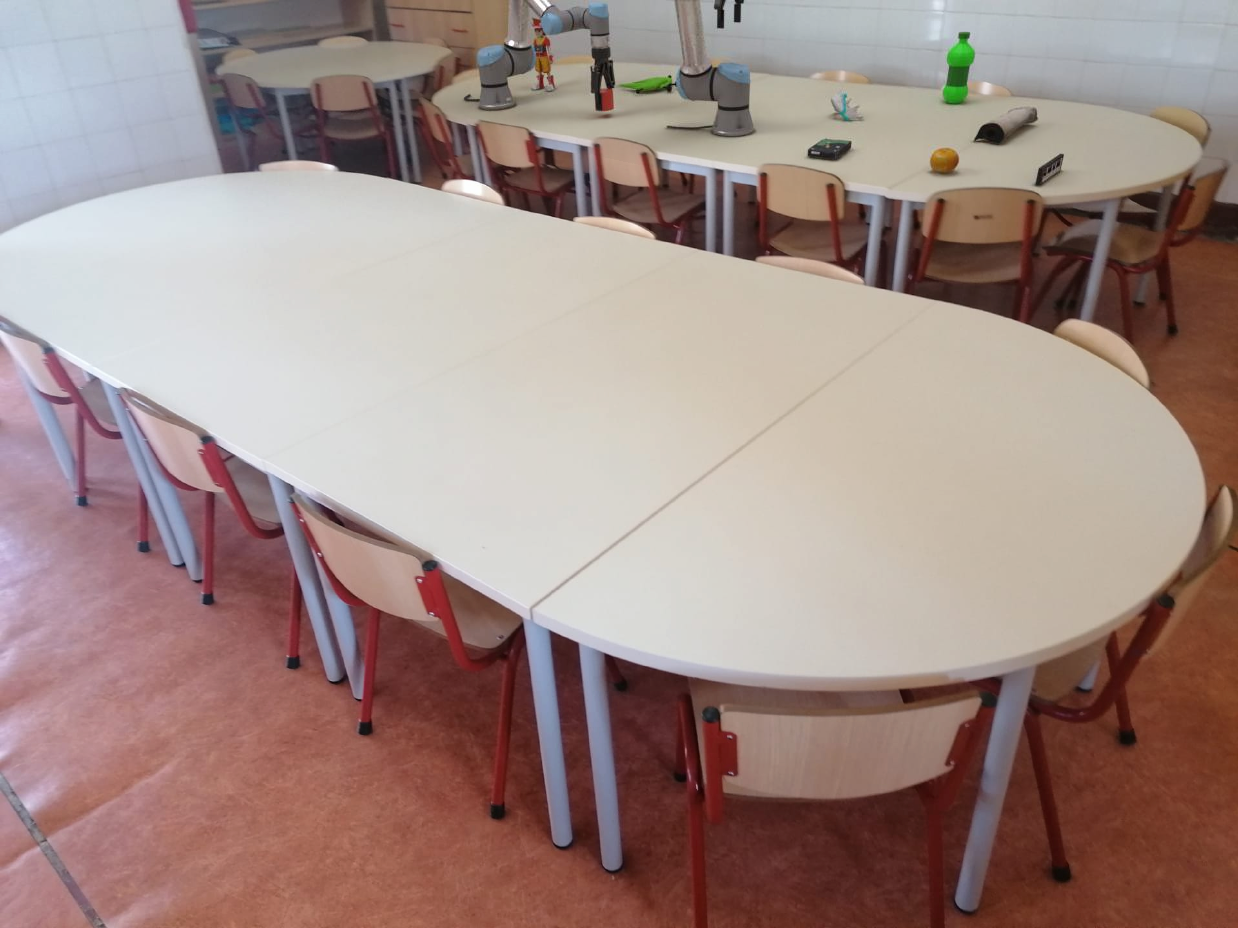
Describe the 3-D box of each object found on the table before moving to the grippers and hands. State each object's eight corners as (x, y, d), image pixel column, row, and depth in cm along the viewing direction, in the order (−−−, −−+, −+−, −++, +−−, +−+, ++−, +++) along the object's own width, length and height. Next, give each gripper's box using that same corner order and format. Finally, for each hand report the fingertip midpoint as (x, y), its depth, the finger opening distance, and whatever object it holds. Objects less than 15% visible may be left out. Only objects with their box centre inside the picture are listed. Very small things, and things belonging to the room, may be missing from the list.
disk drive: (836, 161, 300) (851, 148, 310) (836, 152, 298) (852, 140, 308) (806, 157, 305) (822, 145, 315) (807, 149, 303) (823, 137, 313)
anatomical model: (825, 90, 346) (851, 83, 346) (828, 117, 352) (853, 110, 352) (836, 99, 334) (863, 92, 333) (839, 127, 340) (865, 120, 339)
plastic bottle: (973, 101, 354) (984, 32, 339) (955, 106, 349) (966, 36, 335) (952, 97, 361) (962, 29, 346) (934, 102, 356) (944, 33, 342)
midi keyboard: (1039, 185, 269) (1043, 168, 266) (1035, 184, 270) (1038, 168, 267) (1060, 170, 279) (1064, 154, 277) (1056, 169, 280) (1060, 153, 277)
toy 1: (527, 91, 410) (520, 18, 393) (536, 86, 417) (529, 15, 400) (551, 91, 406) (544, 19, 389) (559, 87, 413) (553, 15, 396)
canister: (599, 112, 360) (598, 93, 356) (592, 108, 365) (591, 90, 361) (616, 109, 362) (615, 91, 358) (609, 106, 368) (608, 87, 364)
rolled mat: (1005, 112, 327) (1029, 94, 319) (1019, 133, 327) (1043, 116, 319) (969, 134, 310) (993, 117, 301) (984, 157, 310) (1008, 139, 302)
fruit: (924, 163, 281) (941, 140, 278) (925, 165, 289) (941, 143, 286) (946, 178, 280) (963, 155, 277) (947, 180, 288) (963, 158, 285)
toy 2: (689, 81, 403) (635, 80, 419) (688, 69, 400) (634, 69, 416) (655, 100, 386) (600, 99, 403) (654, 88, 383) (598, 87, 400)
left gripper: (595, 52, 342) (599, 114, 355) (622, 42, 356) (625, 103, 369) (578, 51, 345) (583, 113, 358) (606, 42, 359) (609, 101, 372)
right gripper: (736, -41, 347) (735, 19, 359) (704, -33, 330) (704, 30, 342) (754, -41, 343) (752, 20, 355) (722, -32, 327) (722, 31, 339)
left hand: (604, 108), depth 363 cm, fingers closed on canister, 7 cm apart
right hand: (729, 25), depth 349 cm, fingers open, 13 cm apart
